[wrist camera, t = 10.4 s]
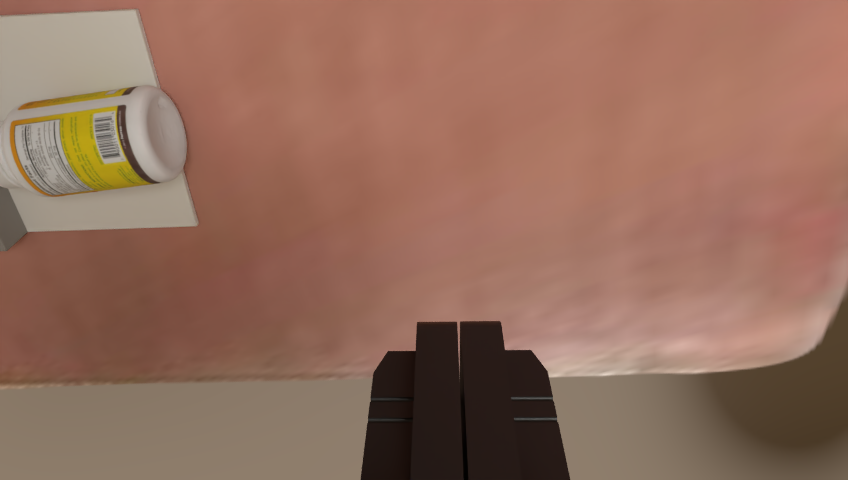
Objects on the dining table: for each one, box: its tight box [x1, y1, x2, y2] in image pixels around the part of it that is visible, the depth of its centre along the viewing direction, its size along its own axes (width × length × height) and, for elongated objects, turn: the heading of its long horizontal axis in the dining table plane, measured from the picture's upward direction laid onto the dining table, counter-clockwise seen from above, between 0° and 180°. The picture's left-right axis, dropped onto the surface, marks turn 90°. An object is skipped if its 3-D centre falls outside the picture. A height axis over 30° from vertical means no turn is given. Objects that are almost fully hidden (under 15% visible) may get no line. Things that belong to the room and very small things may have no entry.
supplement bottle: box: [0, 85, 187, 197], centre depth 35 cm, size 6×6×10 cm
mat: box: [0, 9, 199, 251], centre depth 37 cm, size 14×13×3 cm
